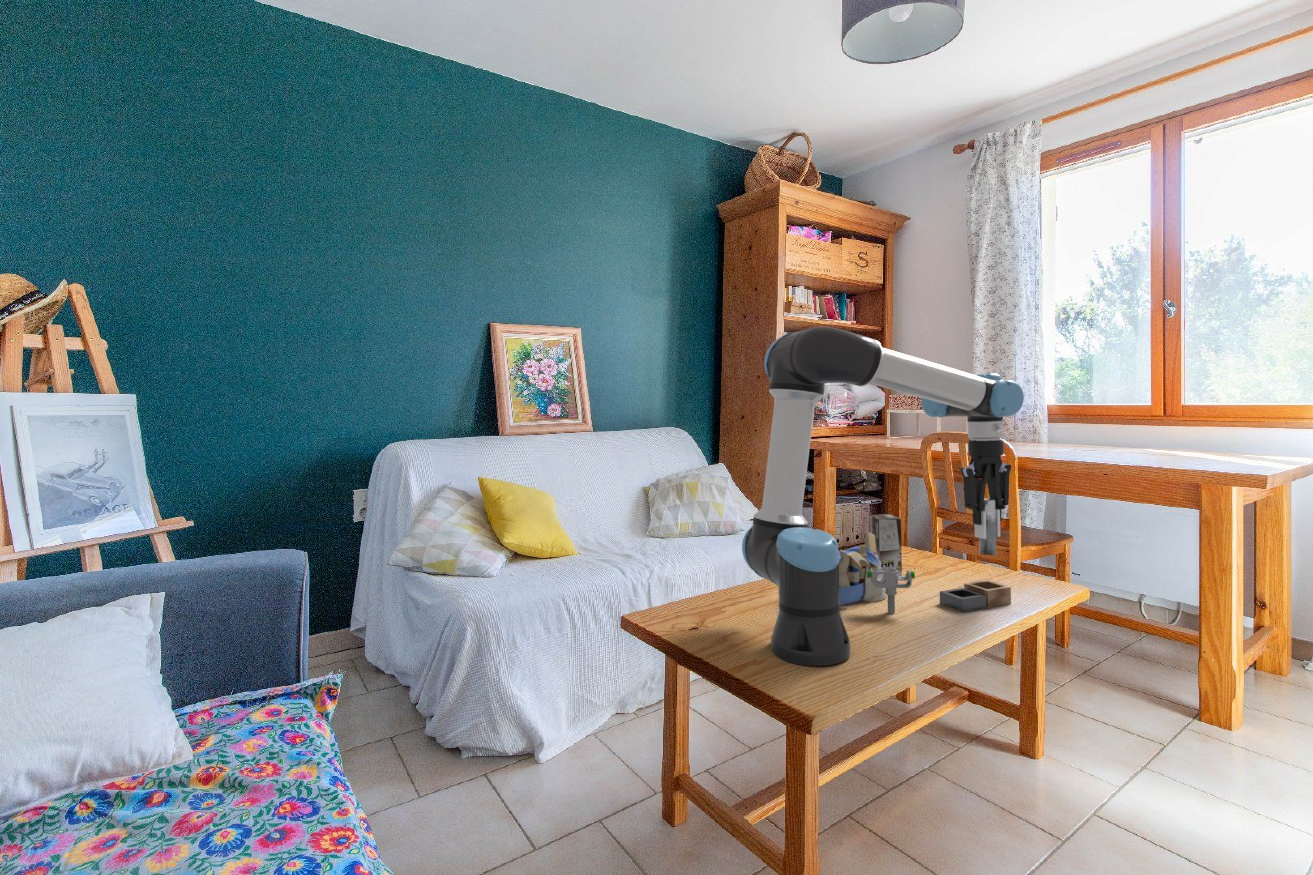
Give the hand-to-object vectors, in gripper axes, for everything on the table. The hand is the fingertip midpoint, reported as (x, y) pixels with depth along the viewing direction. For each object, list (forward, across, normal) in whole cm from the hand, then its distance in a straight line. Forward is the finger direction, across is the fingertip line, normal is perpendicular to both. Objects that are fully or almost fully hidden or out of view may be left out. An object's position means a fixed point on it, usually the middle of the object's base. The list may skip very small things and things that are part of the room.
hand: (987, 536), depth 151 cm
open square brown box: (+16, 0, 0) cm, 16 cm away
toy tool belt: (+16, -31, +16) cm, 38 cm away
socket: (+16, -8, 0) cm, 18 cm away
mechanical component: (+16, -26, +3) cm, 30 cm away
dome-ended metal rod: (+4, 0, 0) cm, 4 cm away
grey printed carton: (+16, -4, +32) cm, 36 cm away
